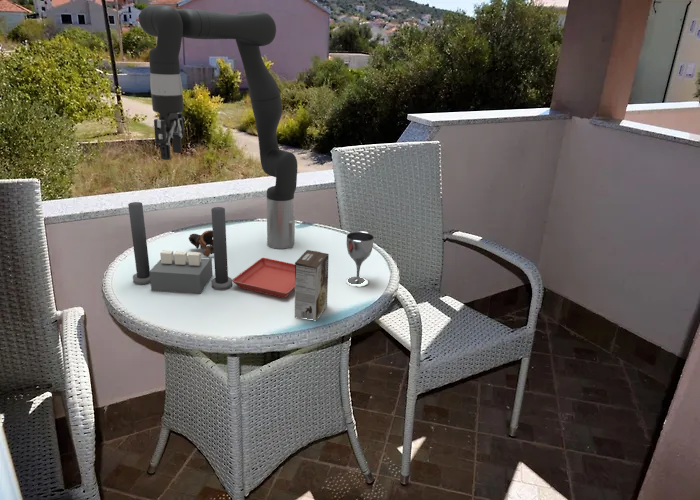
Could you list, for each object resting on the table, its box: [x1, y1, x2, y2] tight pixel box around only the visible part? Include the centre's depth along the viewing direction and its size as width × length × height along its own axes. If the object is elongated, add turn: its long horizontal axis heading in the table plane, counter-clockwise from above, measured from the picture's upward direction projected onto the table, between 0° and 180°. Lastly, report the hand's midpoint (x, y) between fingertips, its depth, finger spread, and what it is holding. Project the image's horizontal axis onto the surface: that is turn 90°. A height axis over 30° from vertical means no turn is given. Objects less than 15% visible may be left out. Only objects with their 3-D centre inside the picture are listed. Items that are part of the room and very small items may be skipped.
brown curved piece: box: [188, 229, 214, 257], centre depth 173 cm, size 12×10×8 cm
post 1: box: [128, 201, 151, 286], centre depth 147 cm, size 6×6×24 cm
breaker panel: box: [149, 255, 213, 295], centre depth 150 cm, size 14×12×6 cm
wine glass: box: [346, 231, 375, 284], centre depth 155 cm, size 8×8×15 cm
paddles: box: [159, 249, 202, 266], centre depth 149 cm, size 12×2×3 cm, turn 88°
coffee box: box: [294, 249, 330, 321], centre depth 137 cm, size 9×6×16 cm
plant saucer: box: [232, 257, 295, 299], centre depth 154 cm, size 18×18×3 cm
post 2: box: [210, 206, 234, 291], centre depth 147 cm, size 6×6×24 cm
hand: (172, 155), depth 137 cm, fingers open, 8 cm apart
